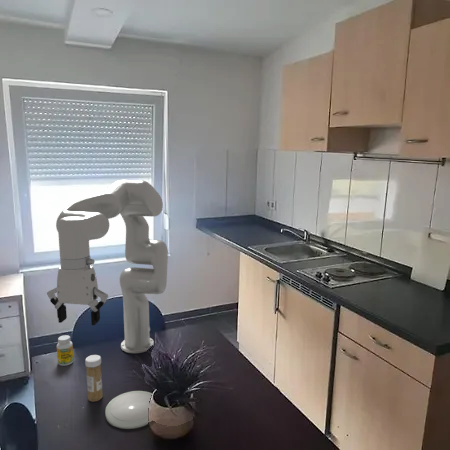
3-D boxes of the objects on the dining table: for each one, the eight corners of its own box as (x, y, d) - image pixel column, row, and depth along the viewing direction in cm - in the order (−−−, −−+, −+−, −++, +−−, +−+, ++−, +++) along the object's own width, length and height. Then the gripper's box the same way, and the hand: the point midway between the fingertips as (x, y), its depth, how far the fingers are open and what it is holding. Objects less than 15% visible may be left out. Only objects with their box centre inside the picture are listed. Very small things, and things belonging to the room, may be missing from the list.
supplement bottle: (71, 357, 151) (69, 332, 149) (75, 363, 146) (74, 338, 145) (56, 361, 148) (54, 336, 146) (60, 367, 143) (58, 342, 142)
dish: (118, 392, 130) (118, 388, 129) (167, 397, 127) (167, 393, 127) (95, 425, 114) (95, 421, 114) (150, 431, 112) (150, 427, 112)
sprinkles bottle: (104, 399, 126) (102, 359, 123) (89, 404, 124) (87, 363, 121) (100, 391, 130) (98, 352, 127) (85, 396, 127) (83, 356, 125)
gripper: (111, 260, 112) (114, 318, 115) (53, 257, 115) (57, 314, 118) (99, 268, 105) (102, 330, 108) (37, 264, 107) (42, 325, 111)
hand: (79, 322), depth 113 cm, fingers open, 9 cm apart
